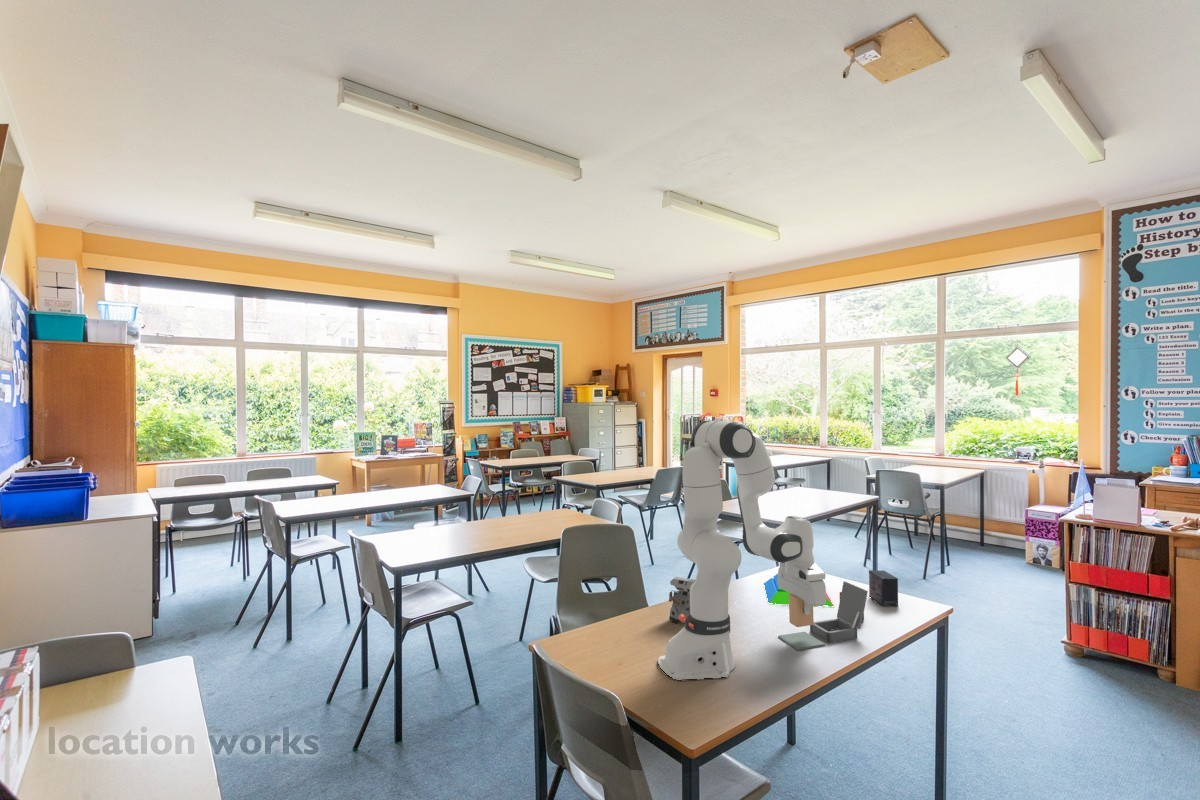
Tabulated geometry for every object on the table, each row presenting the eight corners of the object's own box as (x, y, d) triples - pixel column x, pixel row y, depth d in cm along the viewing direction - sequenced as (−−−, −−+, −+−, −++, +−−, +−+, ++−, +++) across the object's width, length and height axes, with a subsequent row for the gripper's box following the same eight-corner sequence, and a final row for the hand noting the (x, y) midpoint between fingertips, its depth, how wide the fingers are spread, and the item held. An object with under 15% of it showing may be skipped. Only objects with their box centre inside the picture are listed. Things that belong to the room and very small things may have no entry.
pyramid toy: (761, 585, 233) (760, 551, 233) (824, 587, 228) (823, 553, 228) (766, 606, 209) (766, 568, 209) (837, 610, 204) (836, 571, 204)
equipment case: (829, 643, 174) (828, 595, 174) (809, 631, 184) (808, 585, 184) (869, 636, 178) (867, 590, 178) (847, 625, 188) (846, 580, 188)
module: (797, 627, 173) (796, 598, 173) (789, 622, 177) (788, 594, 177) (813, 624, 175) (812, 596, 175) (805, 620, 179) (804, 592, 179)
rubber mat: (797, 650, 170) (797, 648, 170) (778, 637, 179) (778, 635, 179) (824, 645, 172) (824, 643, 172) (804, 633, 182) (804, 631, 182)
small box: (899, 606, 204) (899, 578, 204) (882, 606, 204) (881, 578, 204) (885, 596, 214) (884, 569, 215) (868, 597, 215) (867, 569, 215)
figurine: (688, 629, 187) (687, 585, 187) (666, 619, 197) (665, 576, 197) (708, 623, 192) (707, 580, 192) (685, 613, 202) (685, 572, 202)
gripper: (772, 559, 185) (773, 601, 185) (811, 577, 166) (813, 624, 166) (788, 557, 187) (789, 598, 187) (829, 575, 167) (830, 621, 167)
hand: (801, 610), depth 176 cm, fingers closed on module, 4 cm apart
